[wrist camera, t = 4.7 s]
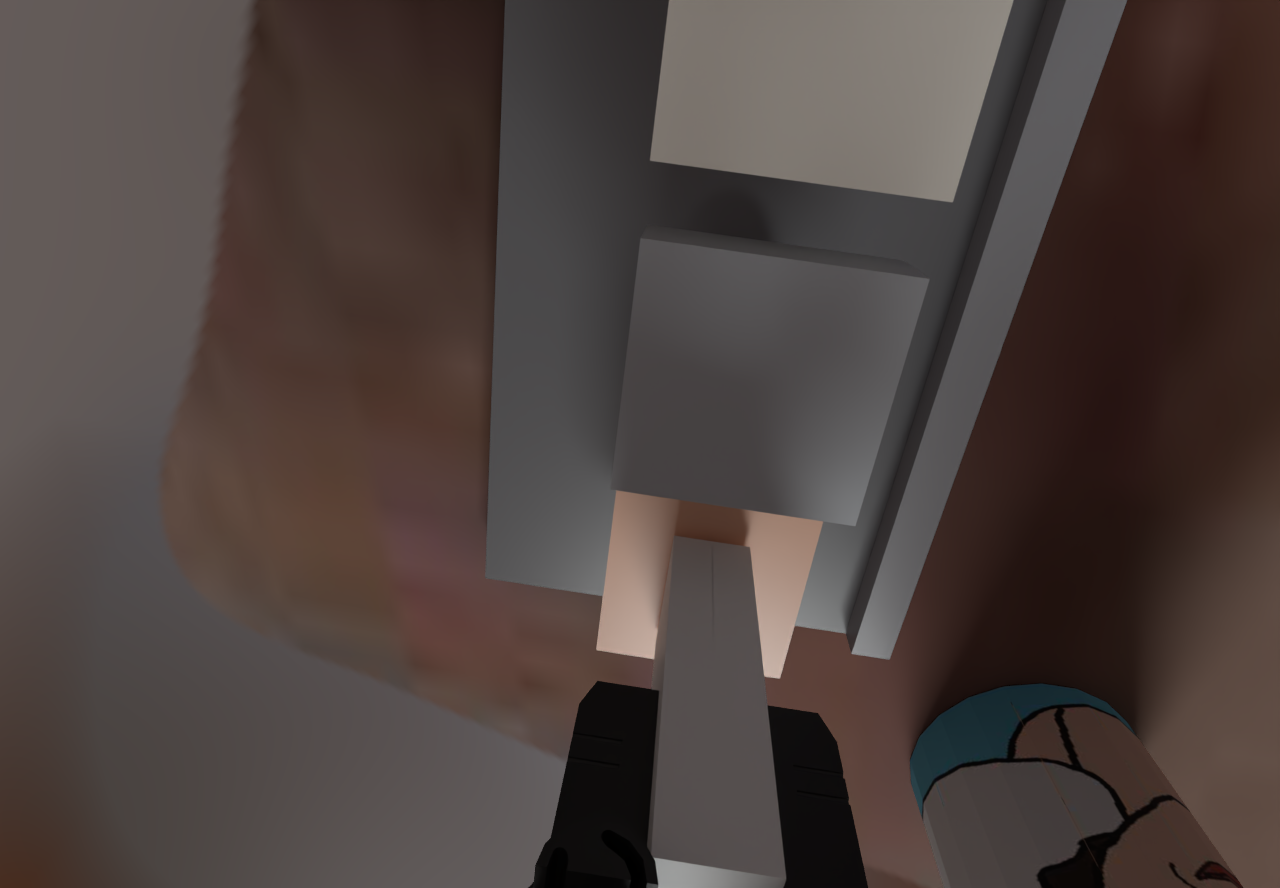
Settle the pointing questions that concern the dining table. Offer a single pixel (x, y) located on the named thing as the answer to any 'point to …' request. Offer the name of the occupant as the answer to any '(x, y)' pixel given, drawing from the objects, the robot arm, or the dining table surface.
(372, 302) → the dining table surface
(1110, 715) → the printed cylindrical canister
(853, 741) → the dining table surface
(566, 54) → the keypad board
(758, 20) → the key cream
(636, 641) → the key terracotta
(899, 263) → the key grey
